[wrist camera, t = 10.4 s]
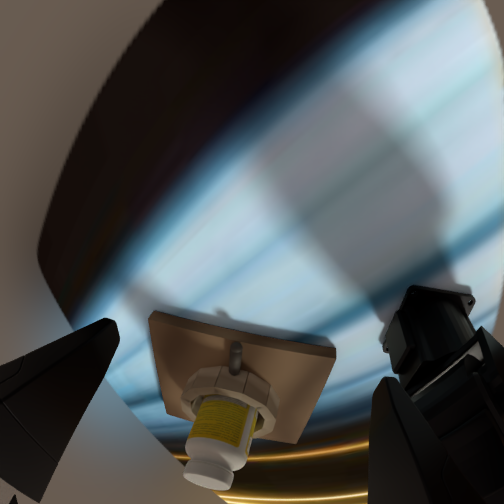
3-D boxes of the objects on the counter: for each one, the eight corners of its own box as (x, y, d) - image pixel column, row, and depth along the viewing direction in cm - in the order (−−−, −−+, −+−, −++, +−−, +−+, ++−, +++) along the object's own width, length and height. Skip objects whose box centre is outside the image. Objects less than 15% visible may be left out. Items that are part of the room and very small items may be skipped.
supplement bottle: (196, 383, 27) (161, 466, 18) (243, 375, 25) (214, 471, 16) (225, 413, 29) (200, 490, 20) (270, 408, 27) (251, 494, 18)
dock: (336, 346, 23) (337, 380, 20) (297, 435, 31) (293, 461, 27) (153, 308, 25) (134, 335, 22) (170, 406, 33) (159, 429, 29)
